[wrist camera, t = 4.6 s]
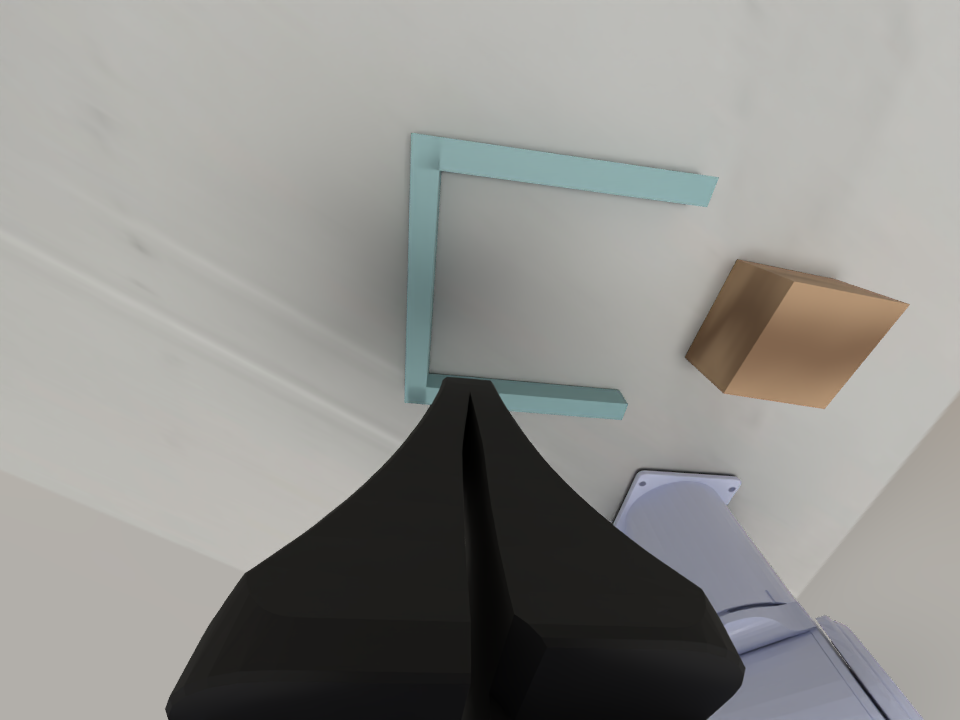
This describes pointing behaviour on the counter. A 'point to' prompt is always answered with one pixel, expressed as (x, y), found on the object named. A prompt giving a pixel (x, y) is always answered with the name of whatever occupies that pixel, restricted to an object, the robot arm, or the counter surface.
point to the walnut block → (789, 334)
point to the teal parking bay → (531, 168)
